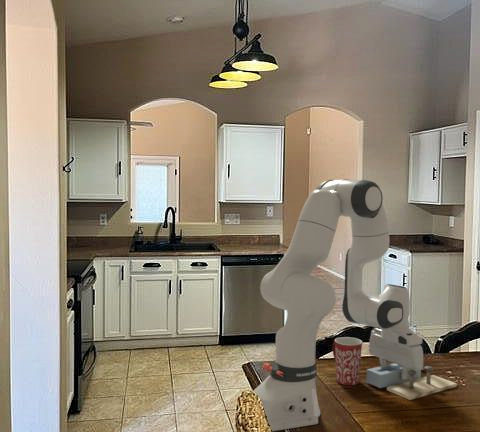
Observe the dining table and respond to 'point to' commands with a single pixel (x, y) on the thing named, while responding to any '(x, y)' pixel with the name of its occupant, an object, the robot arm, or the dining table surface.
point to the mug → (347, 360)
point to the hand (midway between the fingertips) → (393, 375)
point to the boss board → (421, 385)
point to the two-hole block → (388, 375)
